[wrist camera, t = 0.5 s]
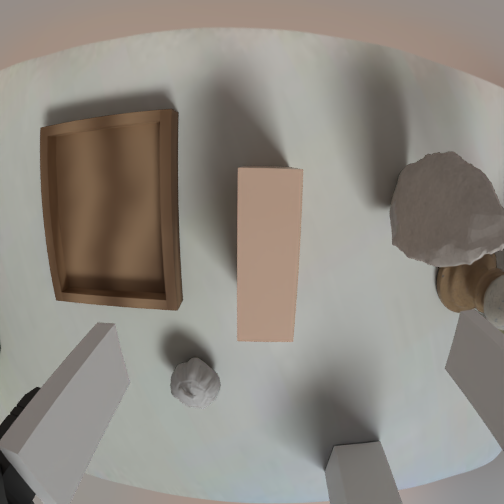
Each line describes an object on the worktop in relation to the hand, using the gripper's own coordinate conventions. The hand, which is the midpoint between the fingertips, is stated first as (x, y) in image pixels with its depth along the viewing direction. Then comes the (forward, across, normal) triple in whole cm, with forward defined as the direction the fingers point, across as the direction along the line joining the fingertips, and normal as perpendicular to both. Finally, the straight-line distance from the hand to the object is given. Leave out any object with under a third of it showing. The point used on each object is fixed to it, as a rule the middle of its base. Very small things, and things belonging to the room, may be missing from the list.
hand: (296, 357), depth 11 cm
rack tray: (+19, -16, +3) cm, 25 cm away
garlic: (+20, -8, -16) cm, 26 cm away
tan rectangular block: (+19, -1, 0) cm, 20 cm away
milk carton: (+20, +12, -34) cm, 41 cm away
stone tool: (+20, +12, +4) cm, 24 cm away
